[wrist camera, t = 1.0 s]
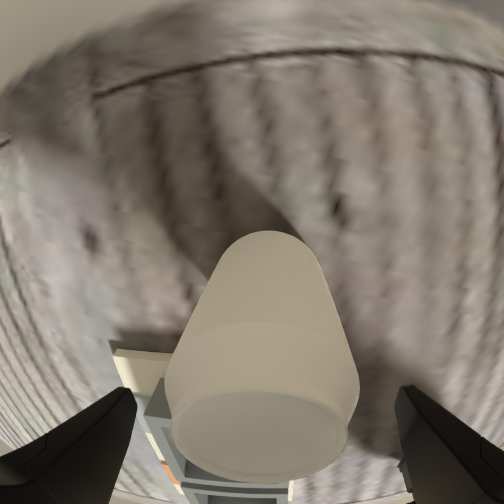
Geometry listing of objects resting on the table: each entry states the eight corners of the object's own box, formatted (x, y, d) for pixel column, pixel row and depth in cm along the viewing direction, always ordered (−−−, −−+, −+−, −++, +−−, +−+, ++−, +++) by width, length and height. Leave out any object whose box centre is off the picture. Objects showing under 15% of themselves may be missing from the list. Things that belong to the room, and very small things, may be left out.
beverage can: (212, 310, 19) (153, 471, 8) (225, 217, 17) (138, 338, 6) (306, 327, 19) (326, 495, 8) (331, 237, 17) (412, 379, 6)
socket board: (301, 354, 20) (305, 406, 15) (291, 494, 27) (291, 526, 23) (117, 348, 21) (89, 389, 16) (181, 487, 29) (173, 517, 24)
